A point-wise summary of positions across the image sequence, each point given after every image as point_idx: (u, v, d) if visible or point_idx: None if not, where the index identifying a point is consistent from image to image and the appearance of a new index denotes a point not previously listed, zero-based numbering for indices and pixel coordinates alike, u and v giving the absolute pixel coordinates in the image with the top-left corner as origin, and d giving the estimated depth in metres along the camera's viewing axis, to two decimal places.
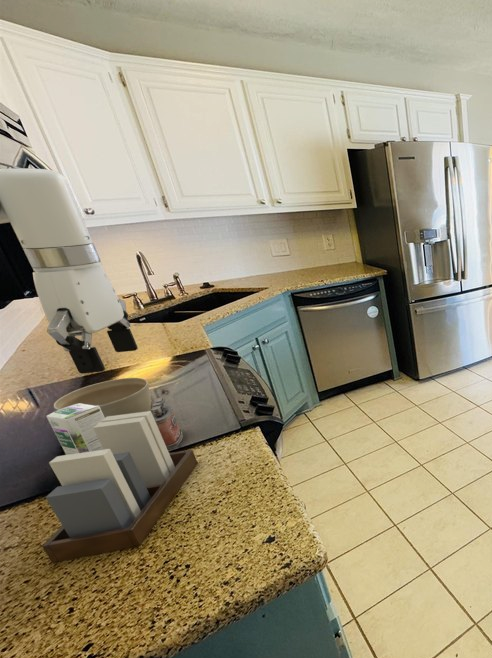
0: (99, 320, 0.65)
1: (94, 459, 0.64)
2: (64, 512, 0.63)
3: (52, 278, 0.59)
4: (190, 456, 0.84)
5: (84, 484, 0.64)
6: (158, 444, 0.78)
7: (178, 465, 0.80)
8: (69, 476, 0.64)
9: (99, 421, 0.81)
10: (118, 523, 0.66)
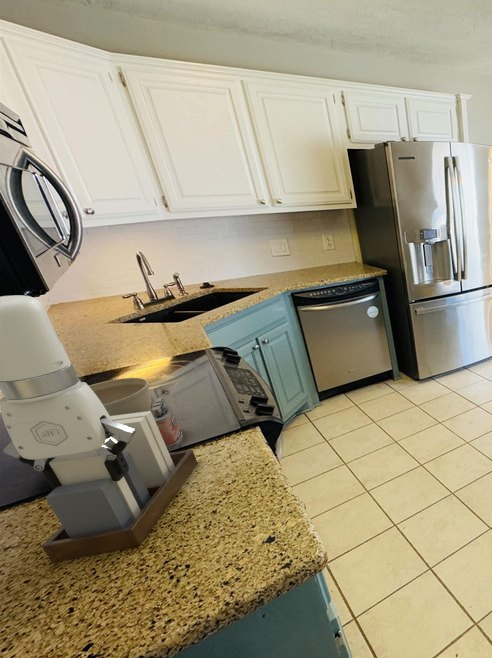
0: None
1: (94, 459, 0.64)
2: (64, 512, 0.63)
3: (86, 391, 0.61)
4: (190, 456, 0.84)
5: (84, 484, 0.64)
6: (158, 444, 0.78)
7: (178, 465, 0.80)
8: (69, 476, 0.64)
9: None
10: (118, 523, 0.66)
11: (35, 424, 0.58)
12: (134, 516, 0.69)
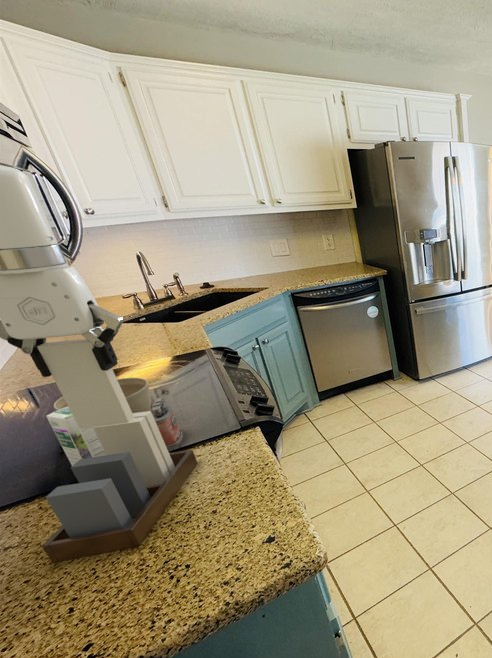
0: None
1: (82, 345, 0.65)
2: (64, 512, 0.63)
3: (73, 273, 0.62)
4: (190, 456, 0.84)
5: (84, 484, 0.64)
6: (158, 444, 0.78)
7: (178, 465, 0.80)
8: (57, 362, 0.64)
9: None
10: (118, 523, 0.66)
11: (22, 300, 0.59)
12: (123, 411, 0.70)
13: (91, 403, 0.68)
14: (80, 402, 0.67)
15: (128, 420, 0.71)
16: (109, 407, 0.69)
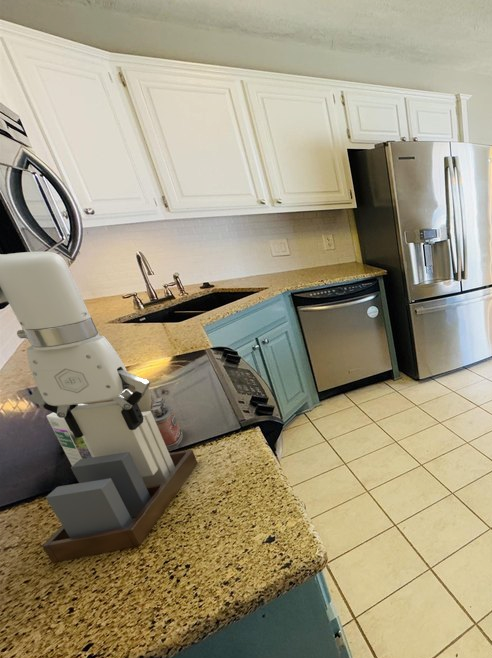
0: None
1: (112, 408, 0.69)
2: (64, 512, 0.63)
3: (105, 343, 0.66)
4: (190, 456, 0.84)
5: (84, 484, 0.64)
6: (158, 444, 0.78)
7: (178, 465, 0.80)
8: (89, 424, 0.69)
9: None
10: (118, 523, 0.66)
11: (59, 371, 0.63)
12: (148, 465, 0.74)
13: None
14: None
15: (153, 473, 0.75)
16: (135, 462, 0.73)
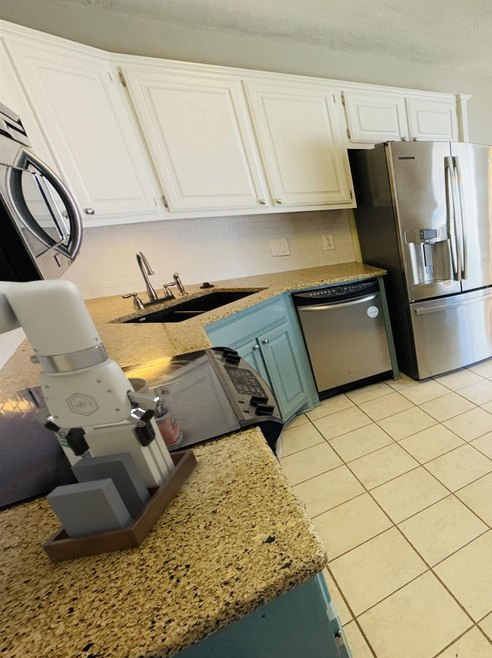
0: None
1: (123, 433, 0.71)
2: (64, 512, 0.63)
3: (115, 367, 0.68)
4: (190, 456, 0.84)
5: (84, 484, 0.64)
6: (158, 444, 0.78)
7: (178, 465, 0.80)
8: (101, 448, 0.71)
9: None
10: (118, 523, 0.66)
11: (70, 395, 0.65)
12: None
13: None
14: None
15: None
16: (145, 484, 0.75)
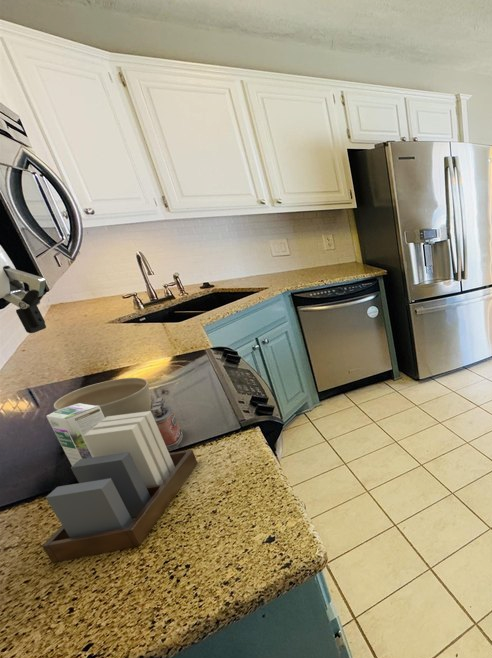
0: None
1: (123, 433, 0.71)
2: (64, 512, 0.63)
3: None
4: (190, 456, 0.84)
5: (84, 484, 0.64)
6: (158, 444, 0.78)
7: (178, 465, 0.80)
8: (101, 448, 0.71)
9: (99, 421, 0.81)
10: (118, 523, 0.66)
11: None
12: None
13: None
14: None
15: None
16: (145, 484, 0.75)
